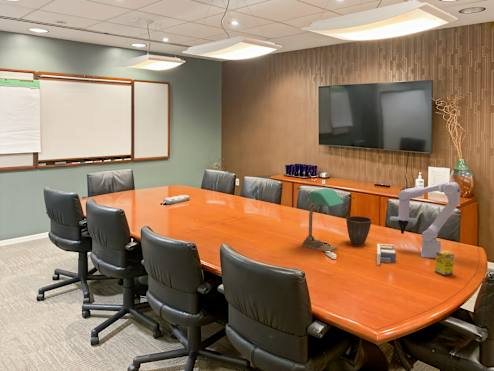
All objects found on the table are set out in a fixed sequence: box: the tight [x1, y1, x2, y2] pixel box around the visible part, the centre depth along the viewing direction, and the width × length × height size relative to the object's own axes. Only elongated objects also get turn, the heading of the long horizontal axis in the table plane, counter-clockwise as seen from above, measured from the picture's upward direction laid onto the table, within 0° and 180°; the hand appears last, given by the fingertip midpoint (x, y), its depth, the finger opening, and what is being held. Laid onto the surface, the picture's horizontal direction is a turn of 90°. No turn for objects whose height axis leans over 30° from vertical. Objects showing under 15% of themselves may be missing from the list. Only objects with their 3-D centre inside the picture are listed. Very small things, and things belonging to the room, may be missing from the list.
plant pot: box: [345, 215, 373, 247], centre depth 261 cm, size 15×15×16 cm
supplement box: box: [434, 249, 455, 277], centre depth 213 cm, size 6×6×11 cm
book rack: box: [376, 243, 395, 266], centre depth 233 cm, size 9×19×6 cm, turn 164°
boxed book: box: [380, 249, 397, 263], centre depth 232 cm, size 8×4×6 cm, turn 75°
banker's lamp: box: [301, 188, 344, 253], centre depth 252 cm, size 16×21×35 cm
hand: (402, 233), depth 249 cm, fingers closed
